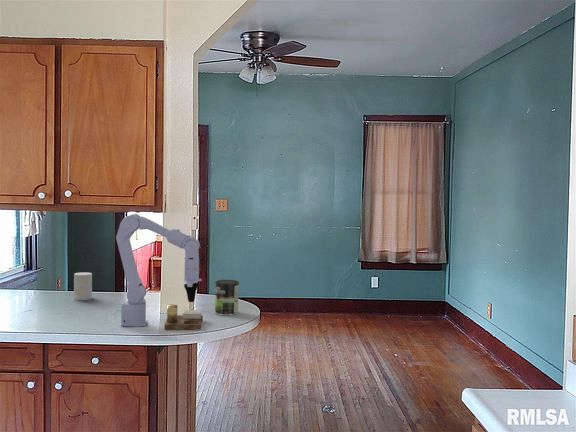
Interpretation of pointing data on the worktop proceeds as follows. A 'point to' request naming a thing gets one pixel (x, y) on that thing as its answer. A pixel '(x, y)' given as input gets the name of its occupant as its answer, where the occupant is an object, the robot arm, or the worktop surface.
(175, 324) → the walnut board
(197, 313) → the cover
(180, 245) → the robot arm
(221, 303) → the coffee can
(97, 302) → the worktop surface
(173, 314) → the brass pin
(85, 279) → the cup
